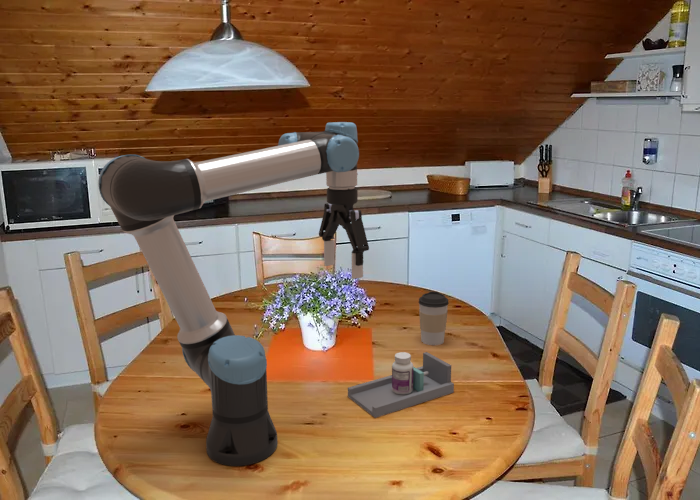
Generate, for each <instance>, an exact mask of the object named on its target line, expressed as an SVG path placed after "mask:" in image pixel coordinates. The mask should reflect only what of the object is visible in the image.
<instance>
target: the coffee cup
mask: <svg viewBox="0 0 700 500" xmlns="http://www.w3.org/2000/svg"><path fill="white" fill-rule="evenodd" d="M418 305H419V306H418V307H419V310H418V312H419V314H418V315H419V329H420V341H421V343H422V342H423V343H422V344H425V345H429V346H440V345H443V344H444V342H445V333H446V329H447V319H448V305H449V298H447V297H446V296H445V294H442V293H440V292H438V291H433V290H431V291H429V292H426V293H424V294H422V296H421V297H419V298H418Z"/></svg>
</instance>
